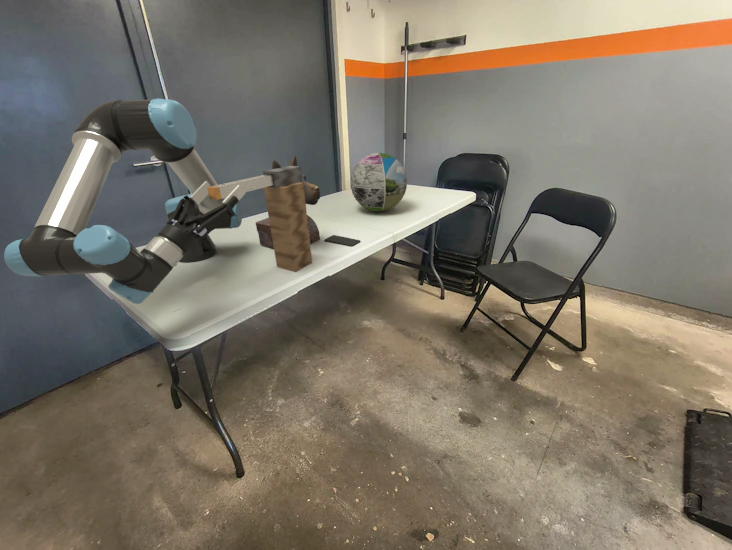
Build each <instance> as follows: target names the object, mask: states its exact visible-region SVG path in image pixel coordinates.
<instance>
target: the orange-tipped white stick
mask: <svg viewBox="0 0 732 550" xmlns="http://www.w3.org/2000/svg"><path fill="white" fill-rule="evenodd" d="M237 185H240V186H241V187H242V189H243V190H244V191H245V193H248V192H251V191H256V190H259V189H260V190H261V189H264V188H265V187H268V186H272V185H275V184H274V177H273V174H265V175H264V174H262V175H257V176H256V175H255V176H252V177H248V178H242V179H238V180H233V181H230V182H225V183H221V184H218V185H215V186H210V187H207V190H208V194H209V198H210V199H215V200H218V199H222V198H226V197H227V196H228V195H229V194H230V193H231V192H232V191H233V190H234V189H235V188H236V186H237Z"/></svg>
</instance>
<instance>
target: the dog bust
mask: <svg viewBox="0 0 732 550" xmlns="http://www.w3.org/2000/svg"><path fill="white" fill-rule="evenodd" d="M271 165H272V166H271V167H272V169H277V168H281V167H282V166H281V165H280V163H279V162H278V161H277V160H276V159H273V160H272V163H271ZM288 166H298V160H297V156H296V155H294V156H293V157H292V158H291V160H290V161H289V164H288ZM272 169H271V170H272ZM300 183H303V185H304V194H305V203H306V205H310V206H315V205H317V203H318V202H319V200H320V199H321V191H320V187H319V186H317V185H316V184H314V183H310V182H309V181H307V176H306V175H305V174H303V173H302V182H300ZM307 220H308V229H309V238H310V245H311V244H313V243H315V242H316V241H319V240H320V239H321V233H320V230H319V227H318V225H317V223H316V222H315V220H314V219H313V218H312V217H311V216H309V214H307ZM255 226H256V232H257V234H258V239H259V245H260V246H264V247H267V248H272V249H274V246H273V240H272V234H271V228H270V222H269V217H267V218H264V219H261V220H257V221H256V222H255Z"/></svg>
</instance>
